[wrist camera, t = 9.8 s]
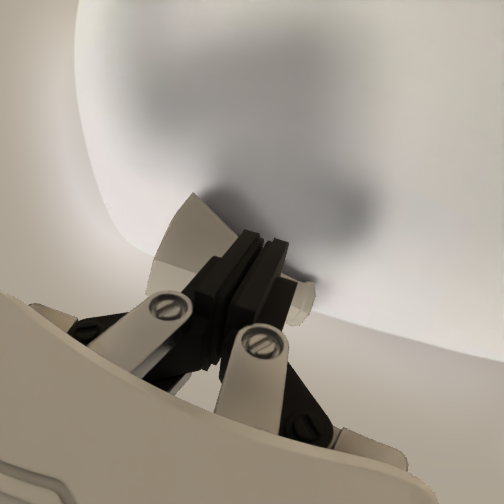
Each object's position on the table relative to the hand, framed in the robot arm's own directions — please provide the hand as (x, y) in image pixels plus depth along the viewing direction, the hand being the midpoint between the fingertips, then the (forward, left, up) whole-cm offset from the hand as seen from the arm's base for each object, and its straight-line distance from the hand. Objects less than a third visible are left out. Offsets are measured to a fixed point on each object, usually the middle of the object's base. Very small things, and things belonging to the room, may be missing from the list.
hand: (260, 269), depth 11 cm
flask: (-7, -4, -5) cm, 9 cm away
